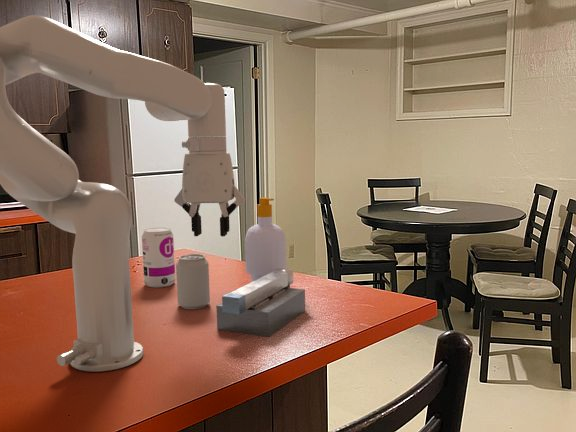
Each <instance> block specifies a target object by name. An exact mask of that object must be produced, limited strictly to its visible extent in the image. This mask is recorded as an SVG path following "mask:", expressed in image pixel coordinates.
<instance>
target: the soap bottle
mask: <svg viewBox="0 0 576 432" xmlns="http://www.w3.org/2000/svg"><path fill="white" fill-rule="evenodd" d="M270 201H274V198H269V197H259V204H258V203H257V206H256V207H257V209H256V210H257V224H253V225H252V226H251V227H249V228H248V230H247V231H246V234H245V238H244V251H245V252H244V254H245V255H244V257H245V258H244V259H245V272H246V274H248V275H250V278H251V279H250V281H251V282H253V281H255V280H257V279H259V278H261V277H263V276H265V275H267V274H269V273H271V272H273V271H275V272H276V269H280V268H287V243H286V242H287V239H286V235H285V233H284V231H283V229H282V227H280V226H279V225H277V224H275V223H273V205H272V203H270ZM251 282H250V283H251Z"/></svg>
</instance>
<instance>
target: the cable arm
mask: <svg viewBox="0 0 576 432" xmlns="http://www.w3.org/2000/svg"><path fill="white" fill-rule="evenodd" d="M293 283H294V269H293V268H289V267H286V268H280V269H276V272H275V271H273V272H271V273H269V274H267V275H265V276H263V277H261V278H259V279H257V280H255V281H253V282H249V283H247V284H245V285H243V286H240V287H239V288H237V289H235V290H233V291H231V292H228V293H225V294H223V295H222V296H221V301H222V302H221V303H222V310H223V312H226V313H234V314H241V313H243V312H244V311H246V309H248V308H250V307H252V306H253V305H255V304H257V303H258V302H260V301H262V300H264V299H265V298H267V297H269V296H271V295H272V294H274V293H276V292H278V291H279V290H281V289H283V288H285V287H286V286H288V285H289V284H290V285H292V284H293Z"/></svg>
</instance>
